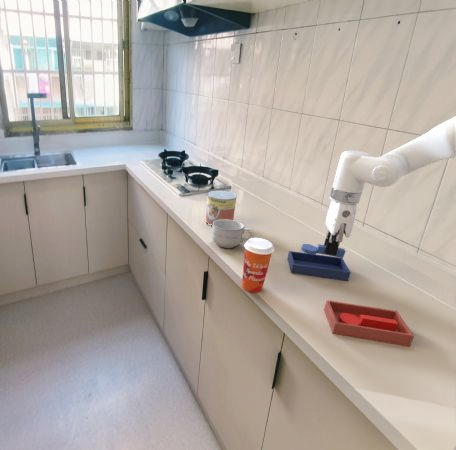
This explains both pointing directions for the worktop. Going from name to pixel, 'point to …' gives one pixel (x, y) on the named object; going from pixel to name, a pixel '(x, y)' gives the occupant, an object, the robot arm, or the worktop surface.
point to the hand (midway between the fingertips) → (329, 252)
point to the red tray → (395, 337)
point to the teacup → (229, 233)
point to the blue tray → (318, 265)
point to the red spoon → (369, 321)
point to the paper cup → (256, 263)
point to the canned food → (220, 205)
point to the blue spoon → (321, 250)
